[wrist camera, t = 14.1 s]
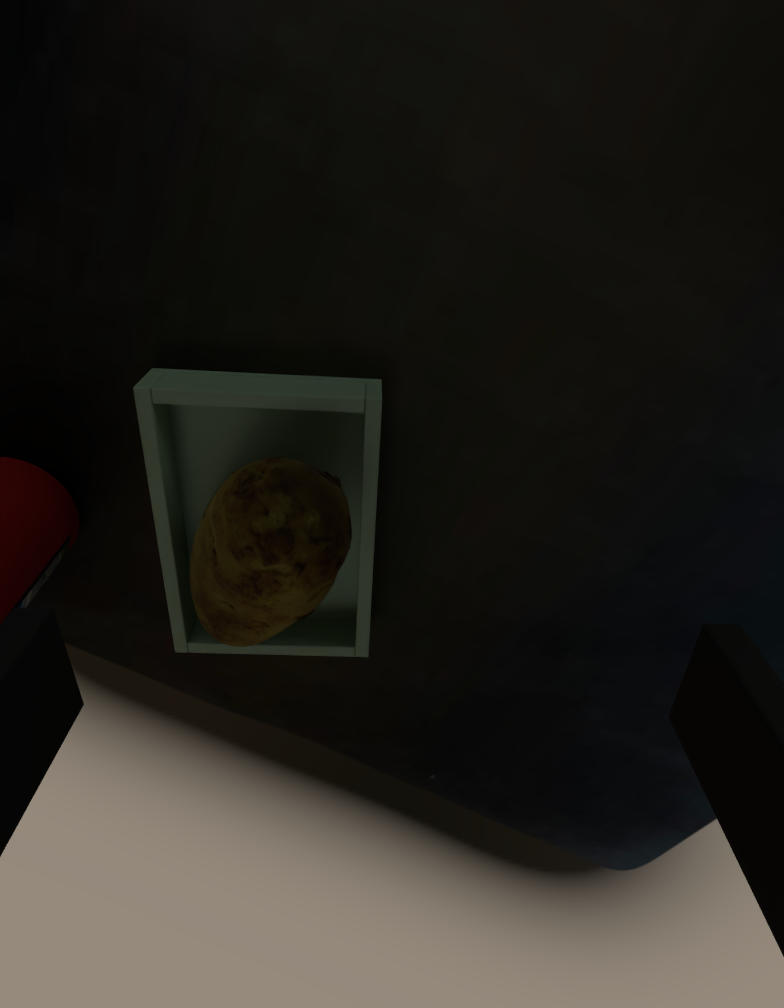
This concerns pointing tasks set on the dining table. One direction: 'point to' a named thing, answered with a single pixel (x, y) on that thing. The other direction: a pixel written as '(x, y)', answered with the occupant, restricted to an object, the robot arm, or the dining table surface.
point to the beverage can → (31, 530)
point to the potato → (268, 549)
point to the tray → (248, 438)
